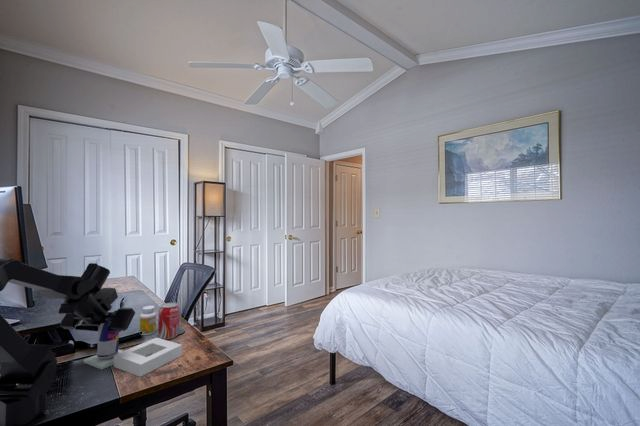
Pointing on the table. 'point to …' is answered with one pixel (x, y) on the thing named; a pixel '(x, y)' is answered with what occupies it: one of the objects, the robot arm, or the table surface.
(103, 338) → the energy drink
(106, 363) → the pad
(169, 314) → the soda can
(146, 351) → the well board
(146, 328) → the supplement bottle
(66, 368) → the table surface
